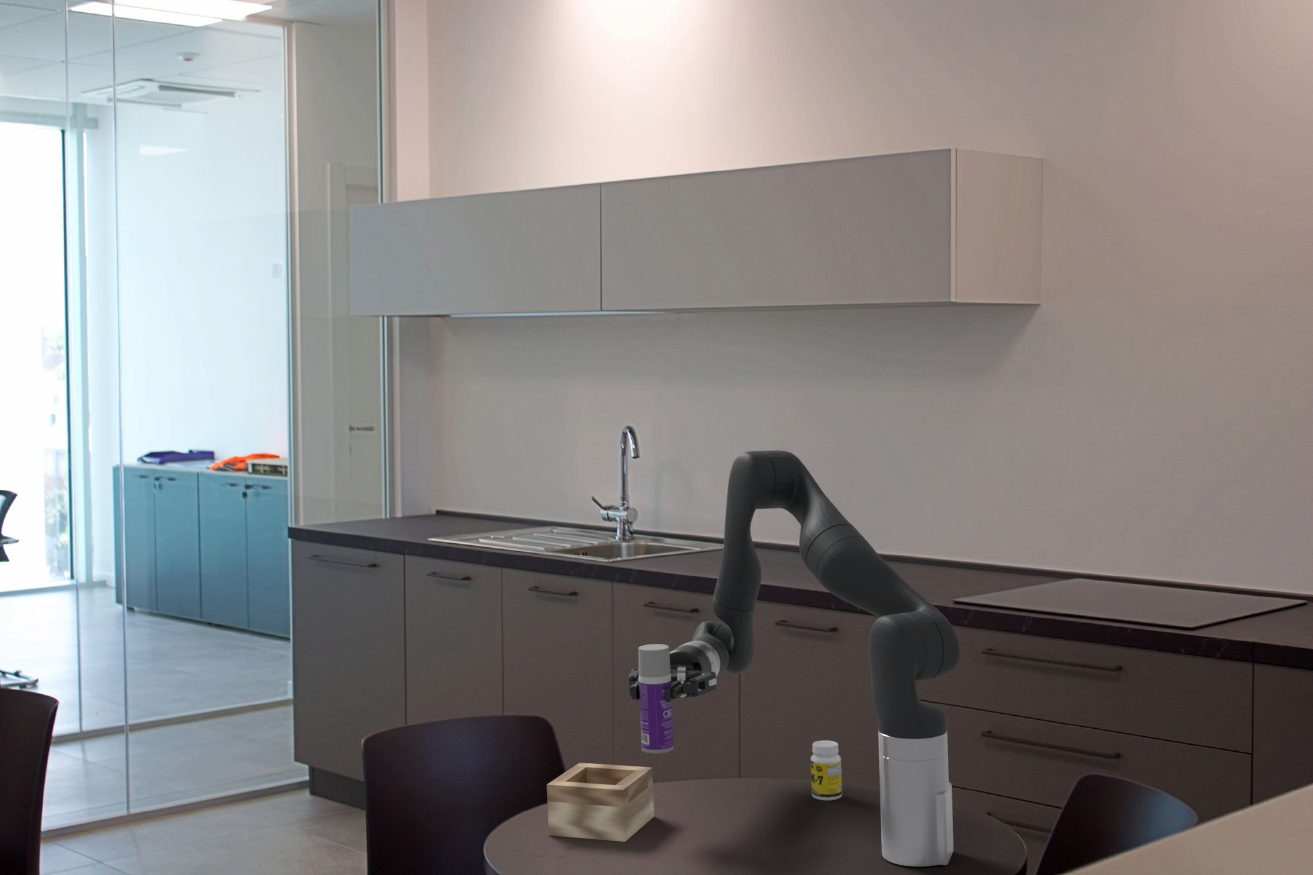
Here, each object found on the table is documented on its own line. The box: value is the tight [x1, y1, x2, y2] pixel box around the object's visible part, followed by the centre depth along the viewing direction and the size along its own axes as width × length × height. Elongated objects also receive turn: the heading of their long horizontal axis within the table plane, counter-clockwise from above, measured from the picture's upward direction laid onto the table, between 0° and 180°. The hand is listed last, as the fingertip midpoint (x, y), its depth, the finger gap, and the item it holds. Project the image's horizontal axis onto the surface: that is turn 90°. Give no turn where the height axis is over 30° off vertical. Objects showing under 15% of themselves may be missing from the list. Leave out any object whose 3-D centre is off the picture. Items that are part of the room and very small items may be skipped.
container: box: [638, 643, 675, 754], centre depth 201 cm, size 5×5×15 cm
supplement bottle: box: [810, 740, 843, 801], centre depth 217 cm, size 5×5×8 cm
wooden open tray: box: [546, 762, 655, 843], centre depth 206 cm, size 12×12×8 cm
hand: (651, 693), depth 200 cm, fingers closed on container, 4 cm apart
